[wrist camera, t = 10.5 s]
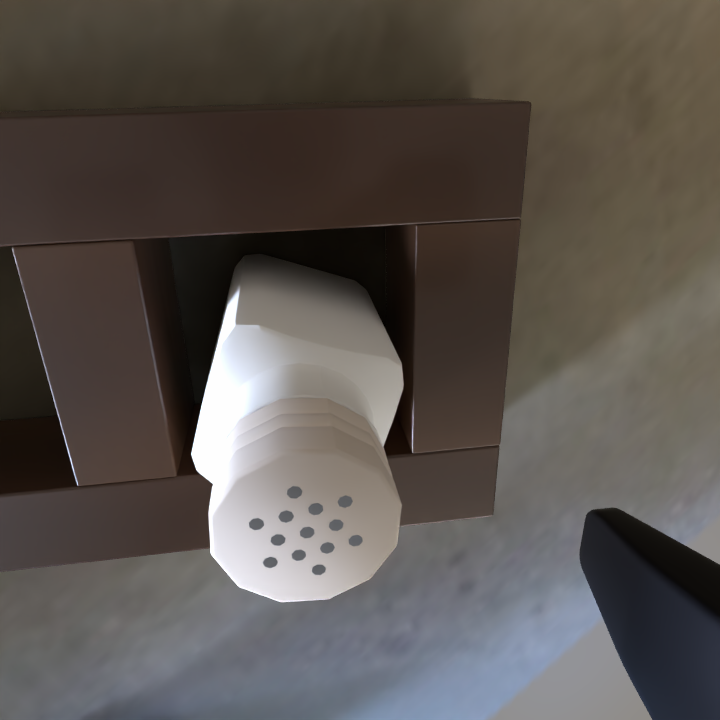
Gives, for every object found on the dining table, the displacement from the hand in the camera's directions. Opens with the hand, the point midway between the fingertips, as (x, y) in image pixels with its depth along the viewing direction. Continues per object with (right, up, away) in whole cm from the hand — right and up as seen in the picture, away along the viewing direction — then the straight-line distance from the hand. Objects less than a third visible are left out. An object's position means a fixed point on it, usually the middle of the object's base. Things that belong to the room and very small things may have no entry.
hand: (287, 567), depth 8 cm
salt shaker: (-1, +4, +10) cm, 11 cm away
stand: (-6, +4, +9) cm, 11 cm away
